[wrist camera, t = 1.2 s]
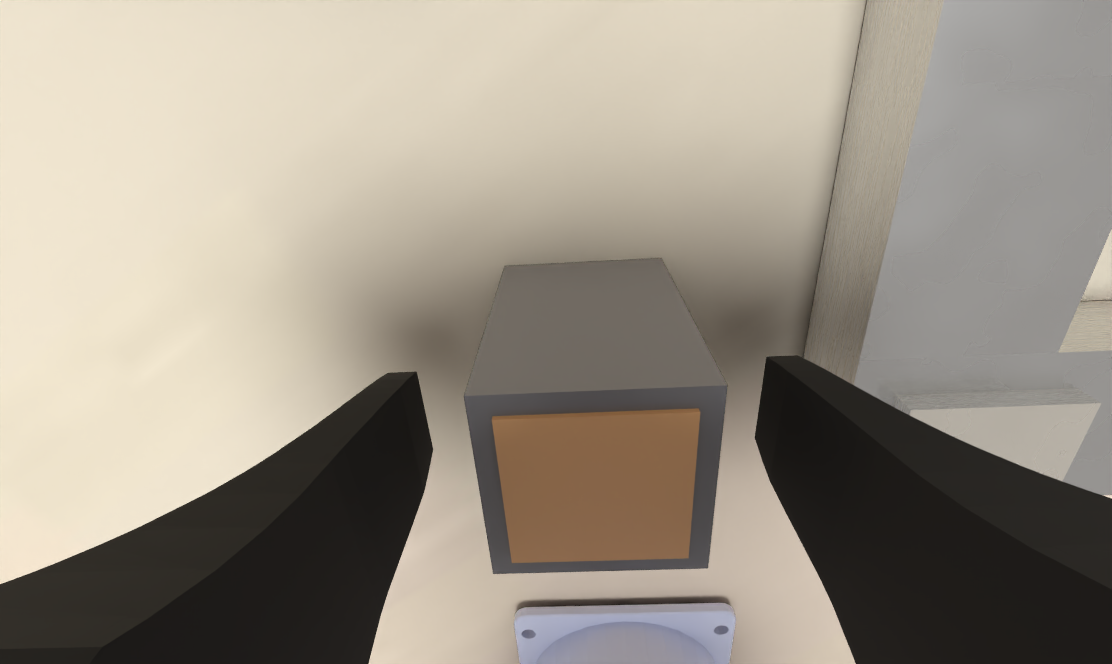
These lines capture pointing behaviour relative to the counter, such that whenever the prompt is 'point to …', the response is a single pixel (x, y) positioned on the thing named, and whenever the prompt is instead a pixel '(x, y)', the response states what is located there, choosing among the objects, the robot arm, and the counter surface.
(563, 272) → the plug
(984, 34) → the socket plate
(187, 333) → the counter surface
